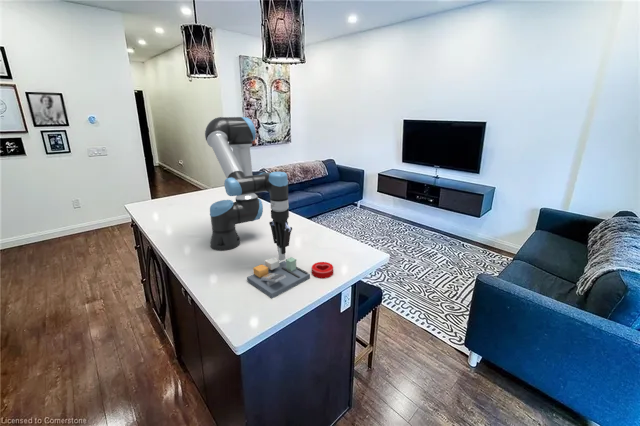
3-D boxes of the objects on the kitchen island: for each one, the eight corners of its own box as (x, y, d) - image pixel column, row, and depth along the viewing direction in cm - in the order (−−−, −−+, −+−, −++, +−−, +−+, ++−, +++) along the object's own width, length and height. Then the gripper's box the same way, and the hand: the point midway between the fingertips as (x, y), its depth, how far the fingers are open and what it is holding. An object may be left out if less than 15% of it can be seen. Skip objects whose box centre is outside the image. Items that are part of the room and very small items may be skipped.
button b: (265, 266, 127) (264, 260, 126) (273, 262, 130) (273, 257, 129) (271, 270, 124) (271, 264, 123) (279, 266, 127) (279, 260, 126)
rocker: (261, 280, 119) (260, 277, 119) (271, 275, 122) (270, 272, 122) (275, 282, 112) (274, 279, 111) (285, 277, 115) (285, 274, 115)
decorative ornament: (316, 280, 124) (316, 274, 123) (308, 270, 132) (308, 264, 131) (337, 276, 127) (337, 269, 126) (327, 265, 136) (327, 259, 135)
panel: (247, 281, 122) (246, 273, 121) (284, 264, 136) (284, 257, 135) (272, 298, 111) (271, 289, 110) (309, 278, 125) (309, 270, 124)
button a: (253, 273, 123) (253, 267, 122) (262, 269, 126) (261, 264, 125) (259, 277, 120) (259, 271, 119) (268, 273, 123) (268, 267, 122)
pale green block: (286, 269, 128) (285, 259, 126) (291, 266, 130) (291, 257, 128) (291, 271, 126) (290, 262, 124) (296, 268, 128) (296, 259, 126)
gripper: (263, 207, 125) (266, 257, 133) (282, 214, 117) (284, 267, 124) (277, 204, 130) (279, 252, 138) (296, 210, 122) (298, 261, 129)
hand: (282, 259), depth 131 cm, fingers closed
